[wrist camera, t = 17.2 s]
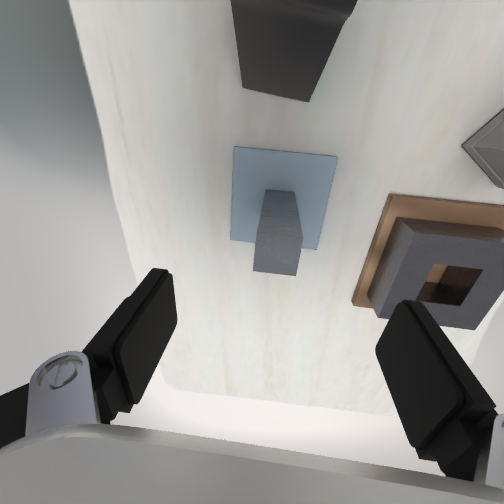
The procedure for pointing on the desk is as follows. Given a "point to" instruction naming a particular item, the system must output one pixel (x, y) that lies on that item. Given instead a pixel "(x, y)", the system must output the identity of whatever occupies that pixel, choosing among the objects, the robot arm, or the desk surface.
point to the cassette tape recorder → (489, 149)
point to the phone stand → (286, 42)
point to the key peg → (278, 234)
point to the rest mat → (280, 178)
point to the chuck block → (454, 277)
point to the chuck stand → (427, 211)
